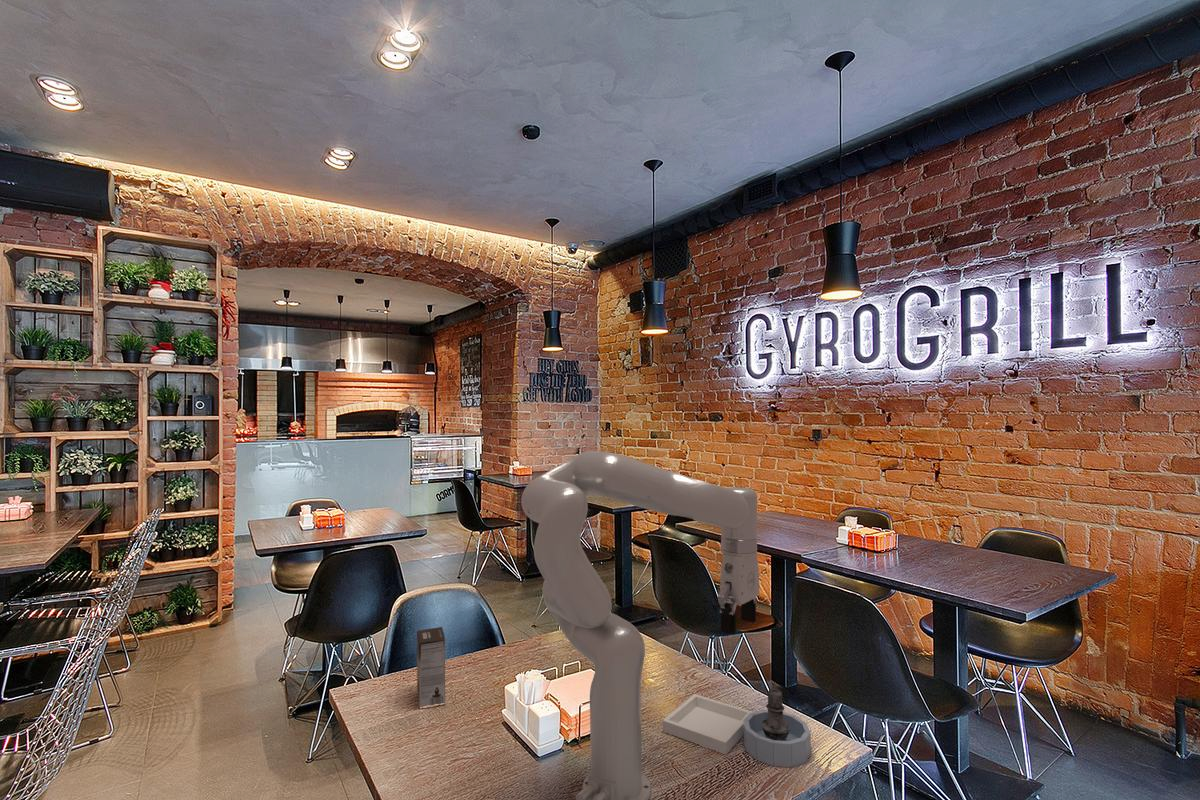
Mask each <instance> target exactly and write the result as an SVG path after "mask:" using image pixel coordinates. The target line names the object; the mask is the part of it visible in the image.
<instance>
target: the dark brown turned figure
mask: <svg viewBox="0 0 1200 800" xmlns="http://www.w3.org/2000/svg"><path fill="white" fill-rule="evenodd" d="M765 707H766V710H768V718H767V719H765V720H763V721H762V722H761V726H762V728H763V731H764V734H765V735H766V737H765V738H768V739H772V740H779V741H787V740H786V738H787V736H788V734H789V731H790V726H789V724H788V723H786V722H785V721H784V720H783V712H784V710H785V706H783V693H782V691H781V690H780V689H778V688H777V685H776V684H774V685H773V687H771V688H769V689H768V691H767V704H766V706H765Z"/></svg>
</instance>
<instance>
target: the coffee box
mask: <svg viewBox="0 0 1200 800" xmlns="http://www.w3.org/2000/svg"><path fill="white" fill-rule="evenodd" d="M416 680H417V681H416V682H417V683H416V684H417V685H416V689H417V690H416V691H417V692H418V693H417V700H419V701H418V707H423V706H427V705H434V704H441V703H445V704H446V637H445V633H444V630H443V626H439V627H438V626H437V627H432V628H426V629H421V630H419V629H418V630H417V631H416Z"/></svg>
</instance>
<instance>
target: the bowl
mask: <svg viewBox="0 0 1200 800" xmlns="http://www.w3.org/2000/svg"><path fill="white" fill-rule="evenodd" d="M752 712H753V713H750V714H749V715H748V716H747V717H746V718H745V719H744V720H743V723H744V736H743V743H744V749H745V751H746V753H748V754H749V755H750V756H752V758H754V759H755V760H756V761H758V762H760V763H761V762H762V763H764V764H767V765H769V766H772V767H780V768H781V767H786V768H794V767H797V766H800V765H803V763H804V764H806V763H807V762H806V761H808V760H809V759H810V757H811V755H812V744H811V743H812V742H811V736H812V735H811V733H812V732H811V730H810V728H809V725H808V723H807V722H806V721H804V720H803V719H801V718H799V717H798V716H797V715H795V714H792V713H788V712H785V711H783V720H784V721H785V722H786V723H788V724H789V726H790V731H789V734H788V736H787V738H786V740H787V741H779V740H772V739H768V738H765V737H766V735H765V734H764V731H763V728H762V726H761V722H762V721H763V720H765V719H767V718H768V709H761V710H758V711H752ZM808 758H809V759H808Z"/></svg>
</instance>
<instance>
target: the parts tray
mask: <svg viewBox="0 0 1200 800" xmlns="http://www.w3.org/2000/svg"><path fill="white" fill-rule="evenodd" d="M753 712H754V711H751V710H750V709H749V710H747V709H745V708H742V707H739V706H735V705H733V704H729V703H725V702H722V701H719V700H715V699H712V698H709V697H705V696H702V695H699V694H697V693H694V694H692V695H691V696H690V697H689V698H687V700H685V701H684V702H683V703H682V704H680V705H679V706H678V707H677V708H676V709H675V710H673V711H671V712H670V714H668V715H667V716H666V717H665V718H664V719H662V733H664V732H666V733H665V734H667V733H668V734H667V735H670V734H671V735H670V736H672V735H674V736H673V737H675V736H677V737H676V738H678V737H679V739H681V738H682V739H681V740H683V739H684V741H686V740H687V741H686V742H689V741H690V742H689V743H692V742H693V743H692V744H694V743H695V745H697V744H699V745H698V746H700V745H702V746H701V747H703V746H704V747H703V748H705V747H707V748H706V749H708V748H709V750H711V751H714V750H715V751H714V752H717V753H720V754H722V755H725V756H727V754H728V753H729V752H730V751H731V750H732V749H733V748H734V747H735V746H736V744H737V743H738V742H739V741H740V740H741V739H742V738H744V723H743V720H744V719H745V718H746V717H747V716H748V715H749V714H750V713H753ZM734 745H735V746H734ZM733 746H734V747H733ZM732 747H733V748H732Z"/></svg>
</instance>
